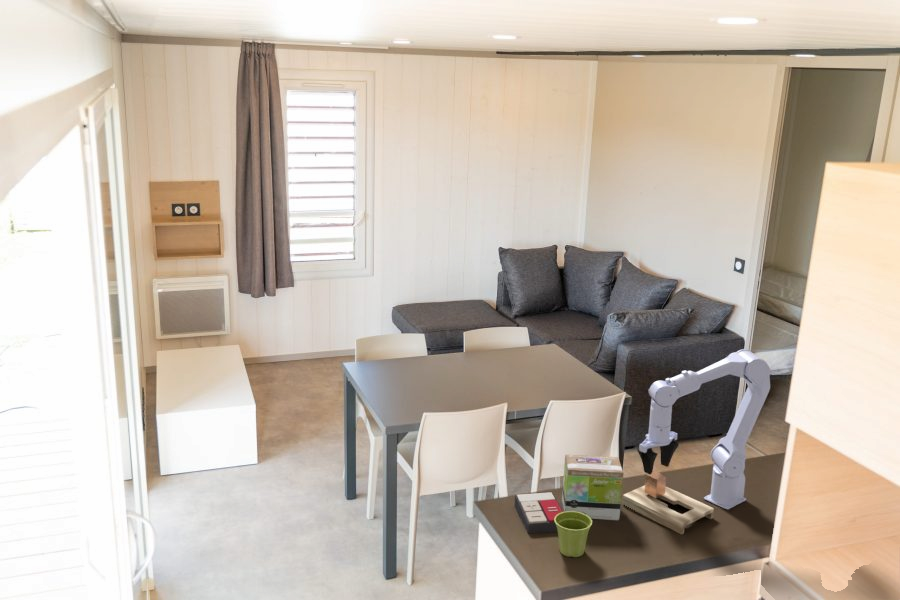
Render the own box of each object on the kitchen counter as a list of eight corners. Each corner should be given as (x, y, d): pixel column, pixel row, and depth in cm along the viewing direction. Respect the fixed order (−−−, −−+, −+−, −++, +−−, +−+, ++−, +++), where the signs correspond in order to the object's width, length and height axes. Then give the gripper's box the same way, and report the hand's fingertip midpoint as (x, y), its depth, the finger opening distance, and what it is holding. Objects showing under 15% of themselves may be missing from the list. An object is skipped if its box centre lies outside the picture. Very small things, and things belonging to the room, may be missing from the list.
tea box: (564, 519, 216) (567, 469, 213) (561, 501, 226) (564, 453, 222) (620, 521, 215) (623, 471, 212) (615, 503, 225) (618, 455, 221)
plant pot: (545, 549, 201) (546, 518, 199) (571, 537, 207) (572, 507, 205) (572, 566, 194) (573, 534, 192) (598, 553, 200) (600, 522, 198)
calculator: (528, 522, 208) (514, 492, 222) (527, 536, 209) (514, 506, 223) (568, 519, 210) (552, 489, 224) (567, 533, 211) (551, 503, 225)
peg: (652, 499, 227) (654, 470, 225) (664, 505, 224) (667, 475, 222) (642, 504, 225) (644, 474, 222) (655, 510, 221) (657, 480, 219)
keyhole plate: (653, 490, 233) (654, 481, 232) (712, 518, 217) (713, 508, 217) (622, 504, 224) (622, 494, 224) (681, 534, 209) (682, 524, 208)
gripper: (664, 413, 227) (660, 457, 230) (631, 425, 218) (628, 471, 222) (685, 421, 222) (681, 465, 225) (652, 433, 213) (649, 480, 216)
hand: (656, 469), depth 223 cm, fingers open, 7 cm apart
